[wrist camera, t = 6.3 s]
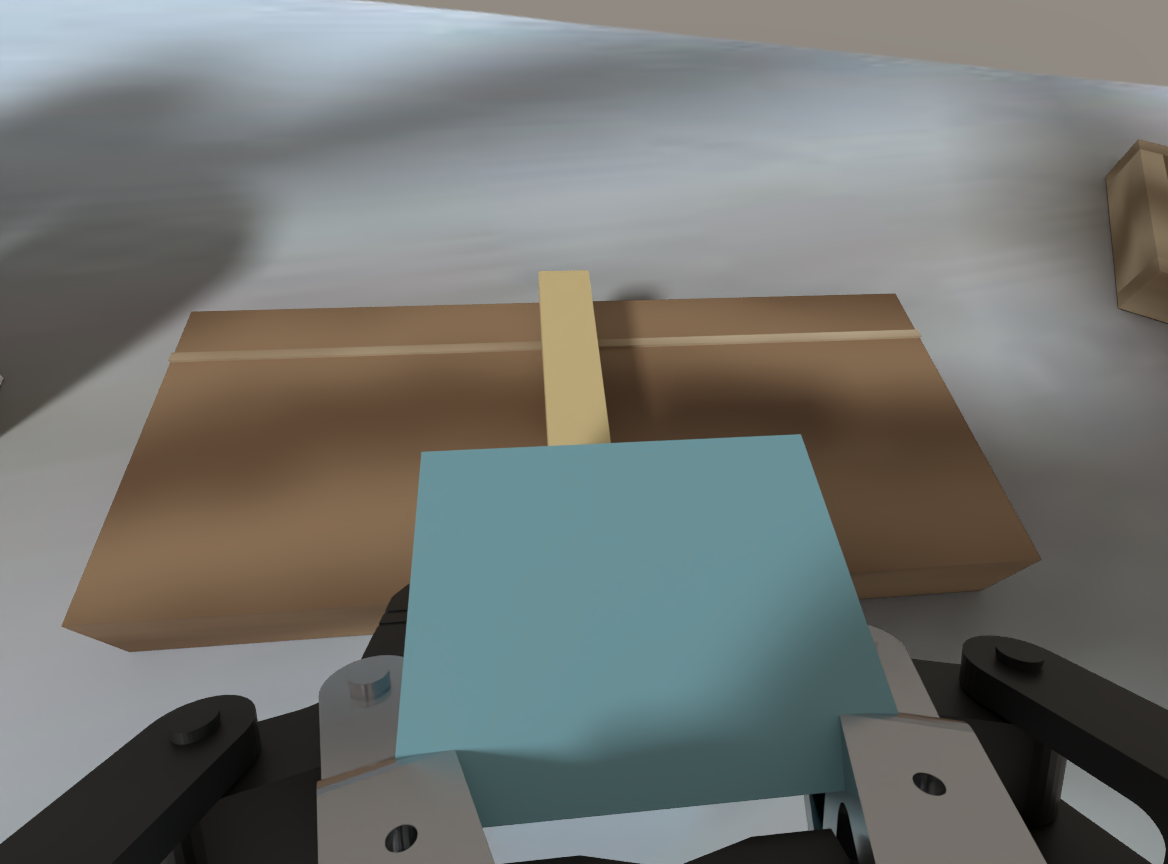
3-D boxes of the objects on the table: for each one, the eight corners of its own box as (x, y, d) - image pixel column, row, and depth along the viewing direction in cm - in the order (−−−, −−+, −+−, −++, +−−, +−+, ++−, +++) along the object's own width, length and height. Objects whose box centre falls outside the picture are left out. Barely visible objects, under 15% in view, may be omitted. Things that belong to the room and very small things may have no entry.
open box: (981, 590, 17) (1044, 558, 15) (129, 651, 15) (57, 625, 13) (863, 341, 22) (896, 291, 20) (228, 362, 20) (189, 309, 18)
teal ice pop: (699, 799, 14) (922, 783, 5) (490, 820, 13) (388, 838, 5) (628, 369, 21) (677, 83, 13) (493, 373, 21) (453, 81, 12)
